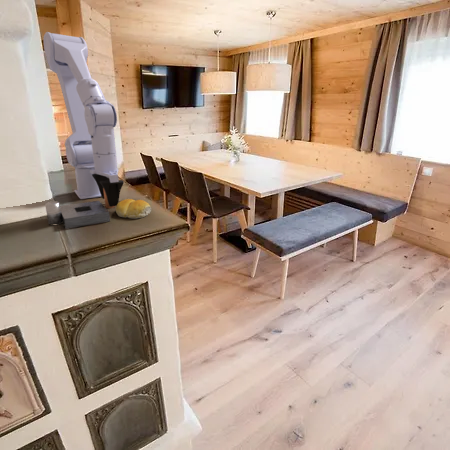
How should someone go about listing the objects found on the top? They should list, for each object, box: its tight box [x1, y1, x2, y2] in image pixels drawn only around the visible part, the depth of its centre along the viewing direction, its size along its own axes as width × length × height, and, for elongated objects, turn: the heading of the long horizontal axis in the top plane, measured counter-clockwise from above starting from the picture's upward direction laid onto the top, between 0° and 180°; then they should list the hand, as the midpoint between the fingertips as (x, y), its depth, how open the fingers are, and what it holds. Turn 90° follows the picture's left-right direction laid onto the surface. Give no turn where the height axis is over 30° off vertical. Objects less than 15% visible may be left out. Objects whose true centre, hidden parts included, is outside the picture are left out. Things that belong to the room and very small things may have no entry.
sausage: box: [103, 188, 116, 209], centre depth 85 cm, size 3×3×6 cm
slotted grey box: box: [44, 200, 111, 230], centre depth 76 cm, size 10×13×5 cm
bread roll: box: [115, 198, 152, 220], centre depth 82 cm, size 8×9×4 cm
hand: (109, 201), depth 86 cm, fingers open, 7 cm apart
